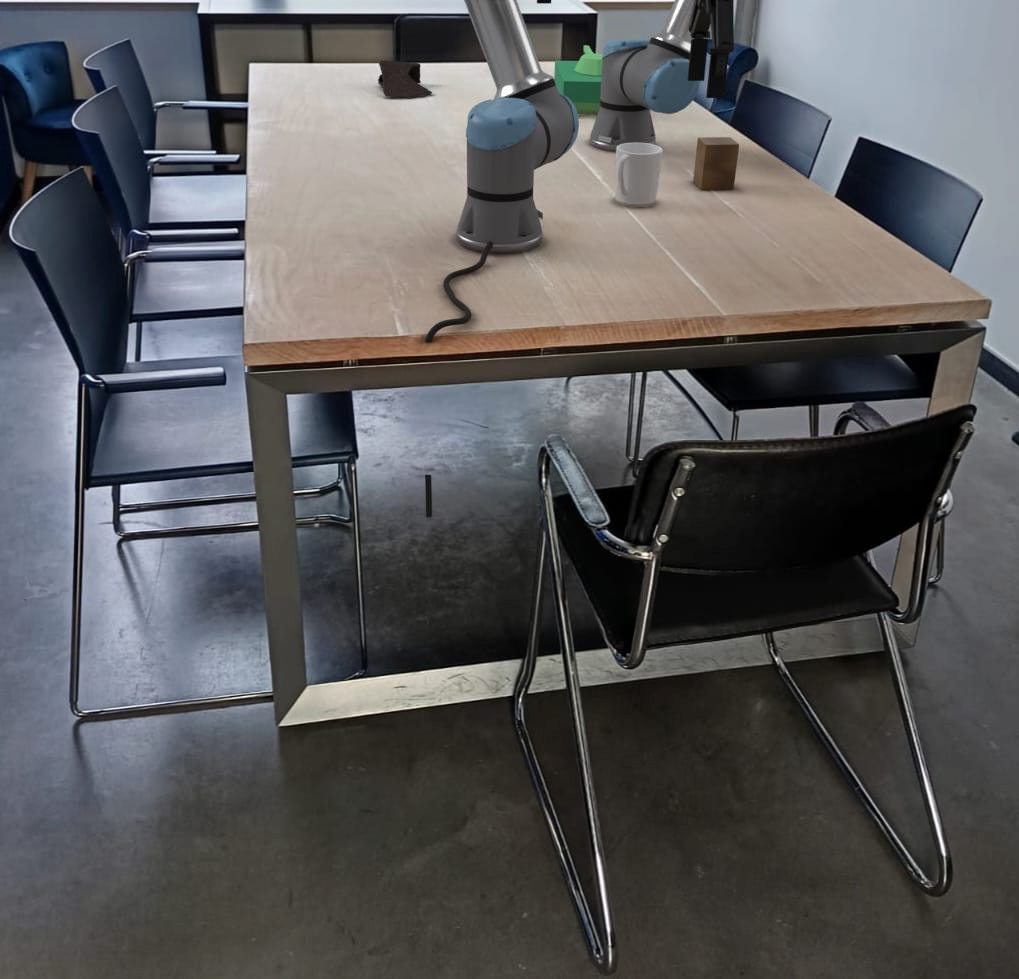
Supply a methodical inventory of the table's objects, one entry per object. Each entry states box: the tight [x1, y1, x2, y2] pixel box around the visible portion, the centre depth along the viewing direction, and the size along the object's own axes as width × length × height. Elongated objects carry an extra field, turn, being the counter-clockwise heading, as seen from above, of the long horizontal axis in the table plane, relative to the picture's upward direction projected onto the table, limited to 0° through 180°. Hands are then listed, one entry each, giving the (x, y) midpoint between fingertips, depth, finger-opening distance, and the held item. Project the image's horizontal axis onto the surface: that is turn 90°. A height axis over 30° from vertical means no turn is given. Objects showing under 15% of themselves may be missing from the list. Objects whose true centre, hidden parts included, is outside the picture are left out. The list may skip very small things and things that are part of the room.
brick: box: [692, 136, 740, 191], centre depth 226 cm, size 7×6×9 cm
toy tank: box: [553, 44, 603, 115], centre depth 290 cm, size 18×12×35 cm
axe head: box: [377, 59, 433, 99], centre depth 299 cm, size 18×8×15 cm
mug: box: [614, 143, 664, 208], centre depth 214 cm, size 11×9×10 cm
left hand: (705, 89), depth 179 cm, fingers open, 13 cm apart
